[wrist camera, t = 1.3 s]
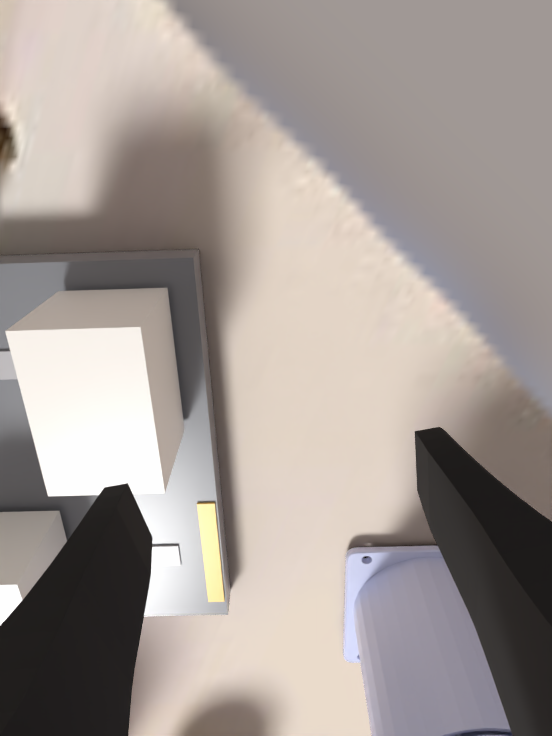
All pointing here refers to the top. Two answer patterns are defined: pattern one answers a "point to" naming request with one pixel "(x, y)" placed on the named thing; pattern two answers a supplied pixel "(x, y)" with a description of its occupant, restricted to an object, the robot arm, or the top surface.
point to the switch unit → (198, 444)
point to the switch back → (26, 553)
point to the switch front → (101, 389)
